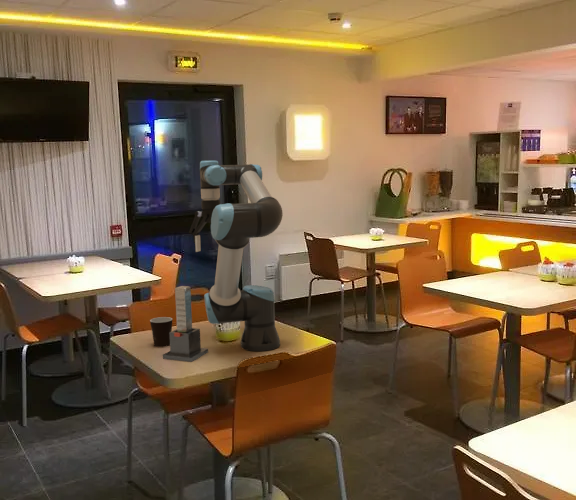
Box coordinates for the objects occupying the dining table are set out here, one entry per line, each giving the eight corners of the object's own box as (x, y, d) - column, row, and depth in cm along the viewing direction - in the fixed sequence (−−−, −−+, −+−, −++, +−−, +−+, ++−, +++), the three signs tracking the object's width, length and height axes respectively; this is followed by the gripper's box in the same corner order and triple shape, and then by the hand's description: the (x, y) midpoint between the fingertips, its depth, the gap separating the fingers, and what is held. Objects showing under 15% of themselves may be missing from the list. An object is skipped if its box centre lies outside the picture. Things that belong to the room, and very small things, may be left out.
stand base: (208, 352, 232) (207, 327, 230) (191, 362, 221) (190, 335, 219) (180, 349, 236) (179, 324, 235) (162, 358, 225) (161, 332, 224)
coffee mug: (168, 348, 239) (167, 322, 237) (147, 347, 240) (146, 322, 239) (179, 339, 250) (178, 315, 249) (159, 338, 252) (158, 315, 250)
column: (192, 334, 229) (190, 286, 226) (186, 337, 224) (183, 288, 222) (183, 333, 230) (181, 286, 228) (176, 336, 226) (174, 288, 224)
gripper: (242, 198, 246) (244, 251, 249) (188, 198, 256) (191, 249, 259) (233, 199, 239) (235, 254, 242) (178, 200, 249) (181, 252, 252)
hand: (212, 252), depth 251 cm, fingers open, 13 cm apart
